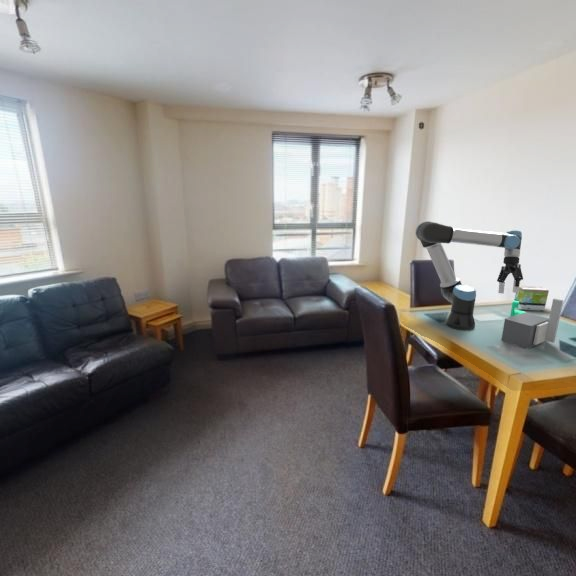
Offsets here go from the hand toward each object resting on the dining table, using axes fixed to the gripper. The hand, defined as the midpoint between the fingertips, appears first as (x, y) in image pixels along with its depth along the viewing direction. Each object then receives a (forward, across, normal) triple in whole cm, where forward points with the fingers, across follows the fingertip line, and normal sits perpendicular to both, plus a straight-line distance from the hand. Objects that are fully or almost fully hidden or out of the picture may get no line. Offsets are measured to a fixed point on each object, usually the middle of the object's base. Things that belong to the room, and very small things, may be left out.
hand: (507, 293), depth 186 cm
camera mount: (+13, +20, -19) cm, 30 cm away
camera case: (+26, -17, 0) cm, 31 cm away
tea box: (+5, +37, -36) cm, 52 cm away
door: (+26, -25, -5) cm, 36 cm away
